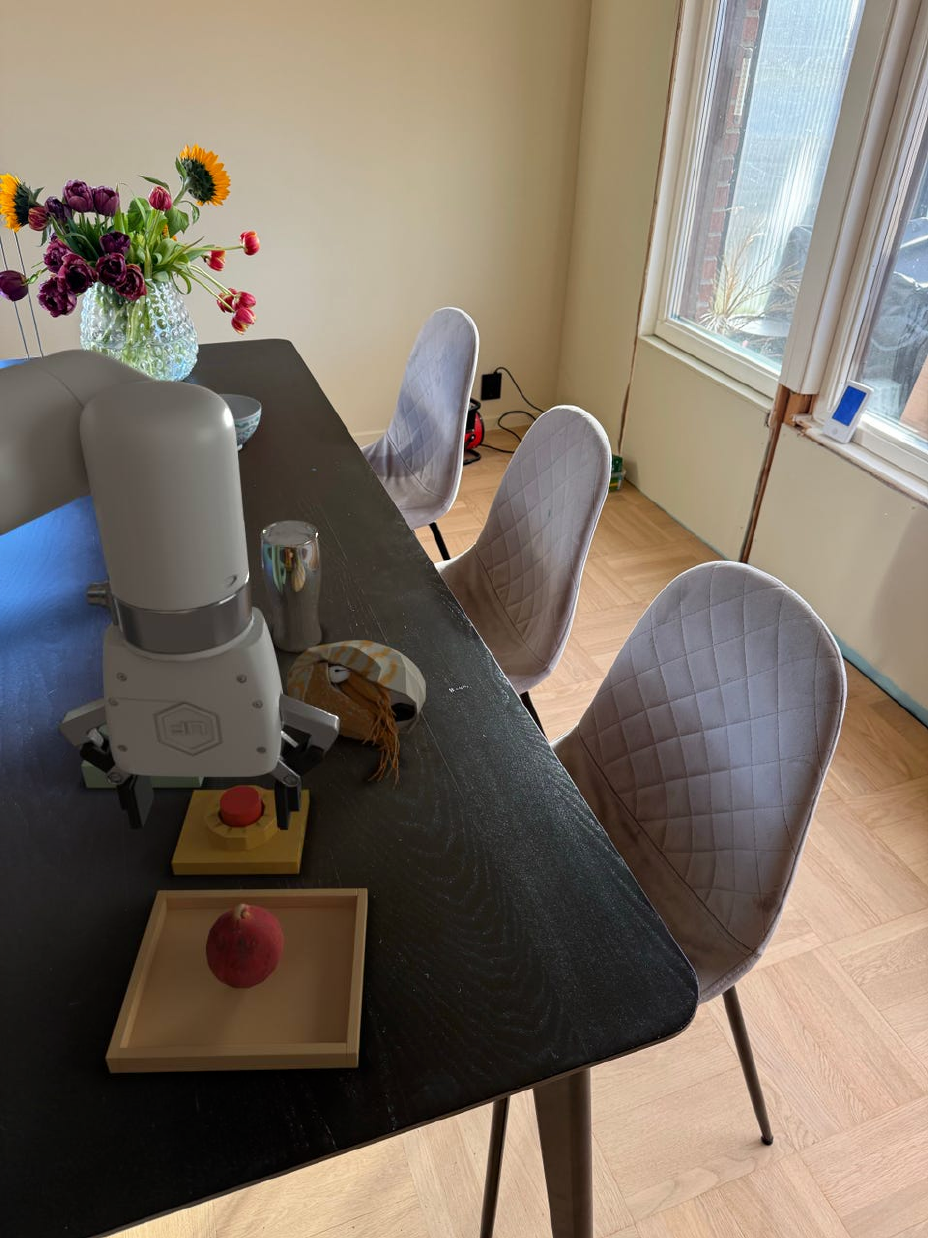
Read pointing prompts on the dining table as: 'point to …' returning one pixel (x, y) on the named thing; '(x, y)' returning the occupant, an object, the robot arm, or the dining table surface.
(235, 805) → the button
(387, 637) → the dining table surface
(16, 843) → the dining table surface
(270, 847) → the button panel
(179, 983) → the oak tray
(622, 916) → the dining table surface
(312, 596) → the beer glass
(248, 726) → the robot arm
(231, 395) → the chinaware
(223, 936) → the pomegranate
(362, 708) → the nautilus
